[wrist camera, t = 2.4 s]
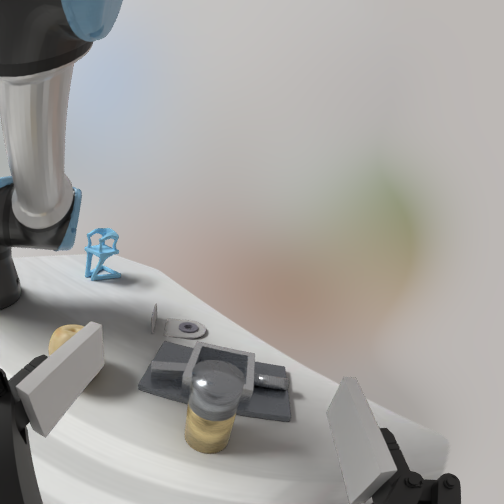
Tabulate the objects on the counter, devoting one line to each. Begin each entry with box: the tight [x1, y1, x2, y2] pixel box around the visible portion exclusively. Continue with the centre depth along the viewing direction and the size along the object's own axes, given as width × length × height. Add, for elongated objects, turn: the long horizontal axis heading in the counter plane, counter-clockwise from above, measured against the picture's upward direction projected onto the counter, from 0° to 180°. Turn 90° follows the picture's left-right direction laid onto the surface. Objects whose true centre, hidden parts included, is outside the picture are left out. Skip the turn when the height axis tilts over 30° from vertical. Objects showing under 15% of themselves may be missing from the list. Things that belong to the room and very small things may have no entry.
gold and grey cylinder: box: [185, 360, 245, 454], centre depth 25 cm, size 5×5×10 cm
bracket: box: [151, 304, 206, 339], centre depth 49 cm, size 7×10×4 cm, turn 101°
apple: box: [49, 325, 99, 375], centre depth 29 cm, size 8×8×8 cm
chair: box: [85, 228, 121, 281], centre depth 62 cm, size 8×8×12 cm
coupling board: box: [138, 341, 291, 422], centre depth 37 cm, size 20×12×4 cm, turn 88°
